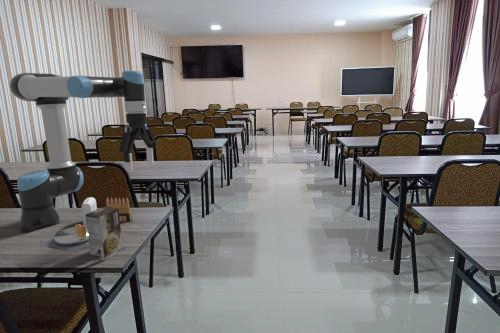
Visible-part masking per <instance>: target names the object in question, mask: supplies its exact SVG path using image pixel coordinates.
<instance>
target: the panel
mask: <svg viewBox="0 0 500 333" xmlns="http://www.w3.org/2000/svg"><path fill="white" fill-rule="evenodd" d="M38 245H39V246H46V247H50V248H55V249H60V250H66V251H71V252H77V251H79V250H81V249H83V248H85V247H87V246H90V245H89V241H87V242H85V243H81V244H77V245H71V246H61V245H57V244H56V243H55V238H54V237H53V238H50V239H48V240H46V241H43V242H41V243H39V244H38Z"/></svg>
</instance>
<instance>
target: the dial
mask: <svg viewBox="0 0 500 333" xmlns="http://www.w3.org/2000/svg"><path fill="white" fill-rule="evenodd" d="M53 238H55V243H56V244H57V245H61V246H71V245H77V244H81V243H85V242H87V241H89V237H88V229H87V226H84V225H83V224H80V223H78V224H75V226H72V227H69V228H66V229H62V230H60V231H58V232H56V233H55V235H54V236H53Z"/></svg>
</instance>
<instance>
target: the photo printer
mask: <svg viewBox="0 0 500 333" xmlns="http://www.w3.org/2000/svg"><path fill="white" fill-rule="evenodd" d="M80 208H81V216H82V223H83V224H82V225H83V226H87V221H86V214H88V213H90V212H92V211H95V210H97V209H98V208H97V200H96V198H94V197H93V196H91V197H87V198H85V199H84V200H83V201H82V204H81V207H80Z"/></svg>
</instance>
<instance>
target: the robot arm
mask: <svg viewBox="0 0 500 333" xmlns="http://www.w3.org/2000/svg"><path fill="white" fill-rule="evenodd" d="M121 75H122V76H121V77H117V76H116V77H113V76H111V77H109V76H90V75H89V76H87V75H72V76H70V75H69V76H67V75H66V76H61V75H59V74H54V73H33V72H23V73H22V72H21V73H18V74H16V75H14V76H13V77H12V78H11V80H10V82H9V89H10V92H11V93H12V95H14V96H15V97H16V98H17V99H19V100H21V101H24V102H35V105H36V107H37V108H39V109H40V110H41V117H42V123H43V128H44V129H43V130H44V135H45V140H46V146H47V151H48V152H47V153H48V157H49V159H48V160H49V164H48V166H47V167H46V170H45V169H41V170H40V169H39V170H35V171H34V170H33V171H29V172H26V173H23V174H22V175H20V176H19V177H18V178H17V182H16V183H17V191H18V196H19V202H20V210H21V214H20V219H19V224H18V226H19V231H21V232H25V233H32V232H36V231H40V230H43V229H48V228H51V227H53V226H56V225H57V226H58V225H60V223H61V219H60V215H59V214H58V212H57V210H56V208H55V206H54V202H53V199H54V198H57V197H61V196H65V195H68V194H73V193H74V192H77V191H79V190H80V189H81V188H82V186H83V184H84V178H85V177H84V174H83V171H82V170H81V168H80V167H78V166H77V165H76V163H75V162H74V161H72V157H71V149H70V143H69V137H68V131H67V124H66V117H65V112H64V108H65V107H66V105H67V101H68V100H69V99H70V98H78V99H86V98H87V99H88V98H89V99H91V98H108V99H110V98H124V108H125V109H124V111H125V113H126V114H125V119H126V120H125V121H126V122H125V123H127V124H128V126H123V127H122V136H121V141H120V145H119V150H118V152H119V153H120V154H123V158H124V160H123V161H124V165H125V171H130V172H131V171H134V167H133V166H134V165H133V163H134V162H133V155H132V151H131V150H132V148H133V146H134V144H135V141H136V140H137V138H141V139H142V141H143V143H144V145H146V147H145V150H146V152H145V154H146V163H147V165H148V164H150V165H152V164H153V165H154V163H155V162H154V161H155V160H154V148H156V146H157V142H156V140H155V137H154V134H153V131H152V128H151V124H150V123H147V121H148V120H147V119H148V117H147V113H146V112H147V106H146V96H145V95H146V94H145V79H144V74H143V72H142V71H139V70H124V71H122V73H121Z"/></svg>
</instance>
